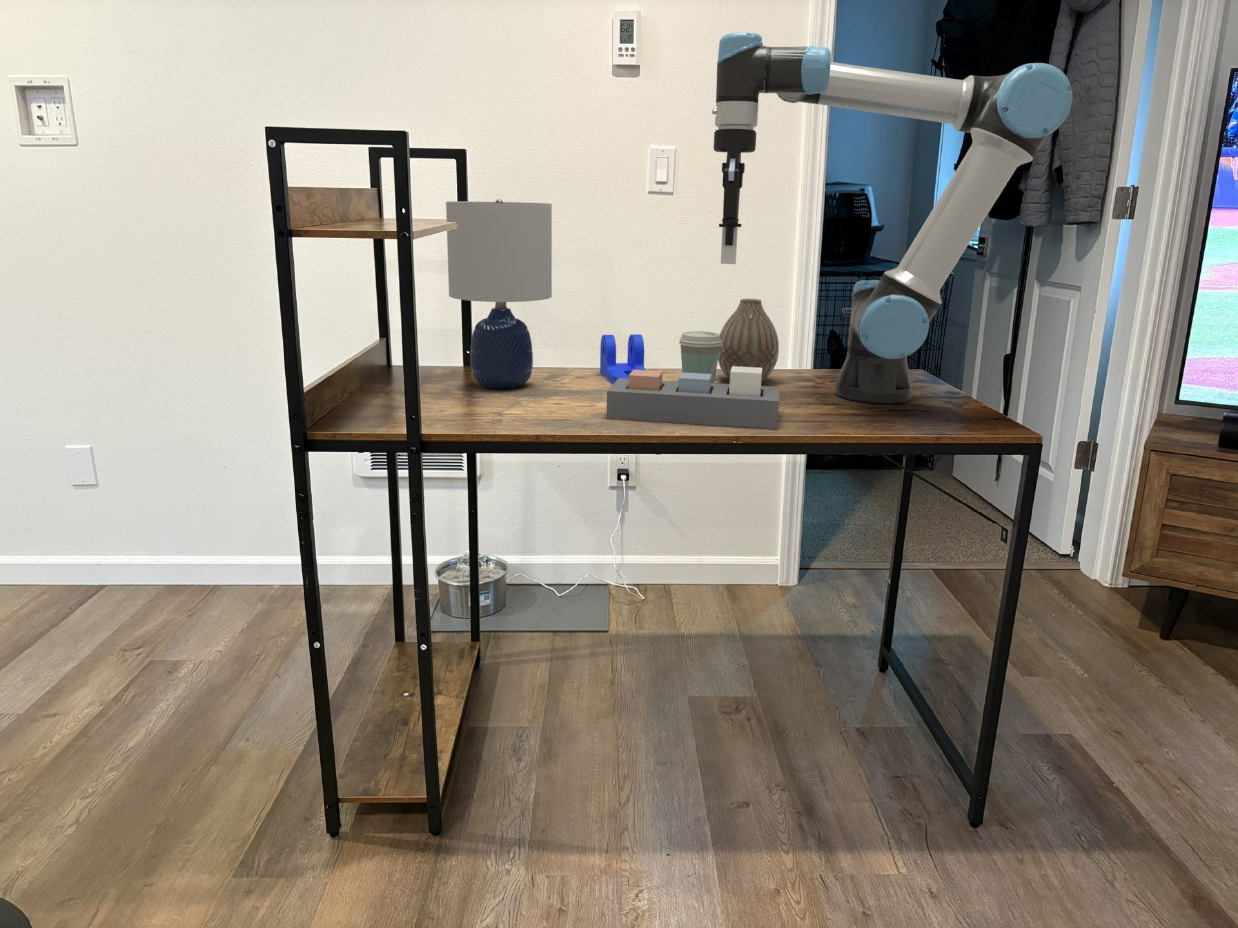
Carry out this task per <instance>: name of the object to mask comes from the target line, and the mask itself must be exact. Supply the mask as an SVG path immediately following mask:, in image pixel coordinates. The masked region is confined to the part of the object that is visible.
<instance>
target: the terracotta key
mask: <svg viewBox="0 0 1238 928" xmlns="http://www.w3.org/2000/svg"><path fill="white" fill-rule="evenodd" d="M662 381H663V371H662V370H648V369H645V370H633V371H632V372H631V373H630V374H629V385H628V389H638V390H656V391H661V389H662Z"/></svg>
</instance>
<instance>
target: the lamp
mask: <svg viewBox="0 0 1238 928" xmlns="http://www.w3.org/2000/svg"><path fill="white" fill-rule="evenodd" d="M445 208H446V209H445V211H446V223H447V222H456V224H458V225H457V227H458V228H456V229H452V230H449V231H447V230H446V243H447V246H446V247H447V274H448V275H447V276H448V297H450V298H452V299H455V300H462V301H469V302H470V301H472V302H485V303H486V302H487V303H489V302H490V303H495V304H494V305H495V306H494V307H492V308H491V309H490V312H489V314H488V316H487V317H485V318H483V319H481V320H479V321H478V322H477V323H476V324H475V326H474V330H473V332H472V335H471V342H470V352H469V353H470V354H469V355H470V356H469V357H470V359H469V360H470V368H471V373H472V377H473V378H474V379H475V381H476V382H477V383H478V384H479V385H481V386H483V387H485V388H488V389H494V390H495V389H496V390H502V389H503V390H505V389H506V390H508V389H511V390H512V389H517V388H520V387H522V386H524V384H525V383H527V382H528V380H529V379H530V378H531V376H532V373H533V368H534V365H533V364H534V363H533V362H534V358H533V355H534V354H533V353H534V351H533V345H532V338H531V337H532V336H531V333H530V331H529V329H528V326H527V325H526V323H525V322H524V321H522V320H521V319H519V318H516V317H515V315H514V313H512V309H511V308H509V307H507V303H517V302H518V303H520V302H522V303H523V302H535V301H543V300H549V299H551V298H552V294H553V293H552V292H553V291H552V287H553V286H552V284H553V283H552V280H553V277H552V276H553V275H552V274H553V273H552V272H553V271H552V270H553V269H552V266H553V263H552V262H553V261H552V260H553V259H552V258H553V257H552V255H553V254H552V253H553V250H552V249H553V248H552V246H553V245H552V244H553V238H552V233H553V232H552V231H553V229H552V227H553V225H552V222H553V221H552V219H553V217H552V216H553V214H552V213H553V210H552V209H553V207H552V203H547V202H546V203H545V202H544V203H543V202H518V201H517V202H515V201H512V202H511V201H503V200H502V199H500V198H499V199H496V200H495V201H469V200H468V201H465V200H464V201H460V200H459V201H458V200H457V201H454V200H453V201H452V200H451V201H445Z"/></svg>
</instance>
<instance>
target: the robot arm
mask: <svg viewBox="0 0 1238 928" xmlns="http://www.w3.org/2000/svg"><path fill="white" fill-rule="evenodd" d="M831 60H832V53H831V49H829V48H828V47H826V46H814V45H809V46H774V47H773V46H766V45H764V44H763V37H762V35H760V34H758V33H755V32H746V31H738V32H729V33H727V34H724V35H722V36H721V38H720V39H719V43H718V54H717V62H716V66H717V67H716V86H715V88H716V89H715V90H716V91H715V106H716V108H712V110H711V114H712V115H715V117H714V125H715V127H717V129H715V131H714V134H713V150H714V152H716V153H726V161H725V162H722V163H721V172H722V188H723V204H722V205H723V208H722V219H721V222H722V223H718V227H719V228H721V229H722V231H721V250H720V264H721V265H724V264H725V265H736V264H737V263H736V262H737V250H738V249H737V245H738V244H737V243H738V228H742V223H739V222H740V221H739V220H740V219H739V209H740V194H741V189H742V187H743V181H744V180H743V178H744V177H743V176H744V173H745V171H746V170H745V168H746V167H745V166H746V163H744V162H742V154H747V153H748V154H749V153H754V152H755V151H756V148H757V147H756V145H757V132H756V130H754V129H755V128H757V126H758V118H759V116H758V115H759V97H760V94H776V95H777V97H778V98H779V99H780V100H782V101H783V102H787V103H791V104H797V103H803V104H804V103H805V104H806V103H807V104H811V105H812V104H813V105H821V106H828V107H834V108H841V109H850V110H855V111H856V110H857V111H861V112H869V113H876V114H881V115H882V114H883V115H889V116H895V117H902V118H910V119H916V120H921V121H922V120H924V121H929V122H930V121H931V122H935V123H943V124H948V125H949V124H950V125H952V126H953V128H954V129H955V131H957V132H963V133H968V134H969V133H970V134H971V139H972V141H971V142H972V144H971V146H970V147H969V148H968V150H967V152H966V154H965V156H964V157H963V158H962V161H961V162H960V164H959V165H958V167H957V169H956V171H955V172H954V174H953V175H952V177H951V179H950V180H949V182H948V183H947V184H946V187H945V188H944V190H943V192H942V193H941V195H940V197H939V198H938V199H937V202H936V203H935V205H933V206H934V207H933V208H932V210H931V211H930V213H929V215H928V216H927V218H926V220H925V221H924V223H923V225H922V226H921V227H920V230H919V231H918V233H917V235H916V236H915V238H914V240H913V241H912V243H911V244H910V246H909V247H908V249H907V250H906V253H904V256H903V257H902V260H900V263H899V264H898V266H897V267H895V268H893V269H890V270H887V271H884V273H883V274H882V275H881V278H880V279H879V280H877V279H876V280H875V279H873V280H871V279H870V280H864V279H863V280H859V281H857V282H856V283H855V284H853V285H854V286H853V289H852V294H851V299H852V300H851V301H852V303H851V313H850V320H849V331H848V332H849V333H848V339H847V340H848V342H847V353H846V358H845V360H844V362H843V365H842V367H841V368H840V371H839V374H838V376H837V379H836V380H835V384H834V385H835V386H834V394H835V395H836V396H838V397H839V398H843V399H847V400H851V401H857V402H863V403H872V404H874V403H875V404H899V403H905V402H908V401H910V400H912V395H913V385H912V380H911V375H910V370H909V365H908V360H907V359H908V356H910V355H912V354H913V353H915V352H916V351H918V349H920V348H921V346H922V345H923V344H924V343H925V341H926V339H927V337H928V333H929V329H930V323H931V321H932V319H933V317H935V315H936V313H937V312H938V309H939V308H940V306H941V305H942V303H943V302H942V299H941V293H940V291H941V289H942V287H943V286H944V284H945V282H946V281H947V279H948V277H949V276H950V274H951V273H952V271H953V270H954V269H955V266H956V265H957V264H958V262H959V260H960V258H961V257H962V255H963V254H964V252H965V251H966V249H967V247H968V246H969V245H970V243H971V241H972V239H973V238H974V236H975V235H976V233H977V231H978V230H979V228H980V227H981V225H982V224H983V222H984V220H985V219H986V217H987V216H988V214H989V213H990V211H991V210H992V208H993V206H994V205H995V203H996V201H997V200H998V199H999V197H1000V195H1001V194H1002V192H1003V190H1004V189H1005V187H1006V186H1007V183H1008V182H1009V181H1010V179H1011V178H1012V176H1013V175H1014V173H1015V171H1016V170H1017V169H1018V167H1020V166H1021V165H1024V164H1027V163H1030V162H1032V161H1033V160H1034V158H1035V157H1036V155H1037V153H1038V152H1039V150H1040V148H1041V147H1042V146H1043V144H1044V143H1045V141H1046V139H1047V137H1048V136H1049V135H1051V134H1053V133H1054V132H1055V131H1056V130H1058V129H1059V127H1060V126H1062V124H1063V123H1064V122H1065V120H1066V119H1067V117H1068V115H1069V113H1070V112H1071V108H1072V104H1073V91H1072V86H1071V83H1070V81H1069V79H1068V77H1067V76H1066V74H1065V73H1064V72H1063V71H1062V70H1061V69H1059V68H1058V67H1057V66H1054V65H1053V64H1050V63H1049V64H1048V63H1043V62H1033V63H1032V62H1031V63H1026V64H1025V63H1024V64H1023V65H1020V66H1018V67H1016V68H1014V69H1012V70H1011V71H1010V72H1008V73H1005V74H1003V75H994V76H993V75H992V76H983V75H982V76H980V75H969V76H967V77H965V78H964V79H955V78H949V77H941V76H934V75H927V74H921V73H915V72H914V73H913V72H906V71H898V70H891V69H886V68H885V69H883V68H877V67H869V66H862V65H854V64H847V63H841V62H833V61H831Z"/></svg>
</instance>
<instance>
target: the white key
mask: <svg viewBox="0 0 1238 928" xmlns="http://www.w3.org/2000/svg"><path fill="white" fill-rule="evenodd" d="M761 379H762V368H756V367H737V366H732V368H731V371H730V379H729V384H730V387H729V395H742V396H759V397H760V393H761V386H762V382H761Z"/></svg>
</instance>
